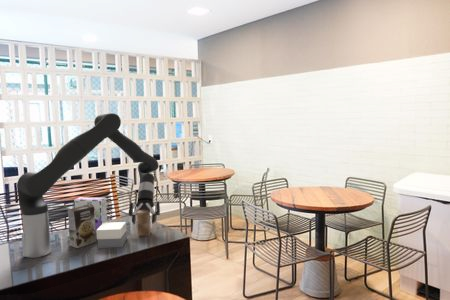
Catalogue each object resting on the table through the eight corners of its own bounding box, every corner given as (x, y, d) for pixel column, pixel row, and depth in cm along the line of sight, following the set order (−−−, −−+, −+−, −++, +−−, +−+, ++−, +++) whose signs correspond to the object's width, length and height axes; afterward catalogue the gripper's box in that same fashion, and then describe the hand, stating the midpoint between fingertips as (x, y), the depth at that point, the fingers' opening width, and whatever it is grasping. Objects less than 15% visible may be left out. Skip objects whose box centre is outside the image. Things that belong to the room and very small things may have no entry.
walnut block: (138, 236, 162) (137, 212, 161) (139, 232, 167) (138, 209, 166) (149, 235, 163) (148, 212, 161) (150, 232, 167) (149, 209, 166)
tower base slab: (98, 248, 149) (97, 239, 148) (104, 240, 159) (103, 231, 158) (122, 247, 150) (121, 238, 149) (127, 239, 160) (126, 230, 159)
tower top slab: (96, 239, 149) (96, 230, 148) (104, 231, 159) (103, 222, 158) (120, 238, 149) (120, 229, 149) (126, 230, 159) (126, 222, 159)
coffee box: (77, 248, 148) (75, 211, 147) (69, 245, 152) (66, 209, 151) (96, 242, 156) (94, 206, 154) (88, 239, 160) (86, 204, 158)
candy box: (75, 233, 168) (72, 199, 166) (82, 229, 174) (79, 196, 172) (102, 234, 166) (100, 200, 164) (108, 230, 172) (106, 197, 170)
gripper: (129, 189, 170) (126, 220, 159) (159, 188, 171) (158, 218, 161) (132, 197, 175) (129, 227, 165) (161, 196, 177) (159, 226, 166)
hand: (143, 223), depth 163 cm, fingers open, 8 cm apart
